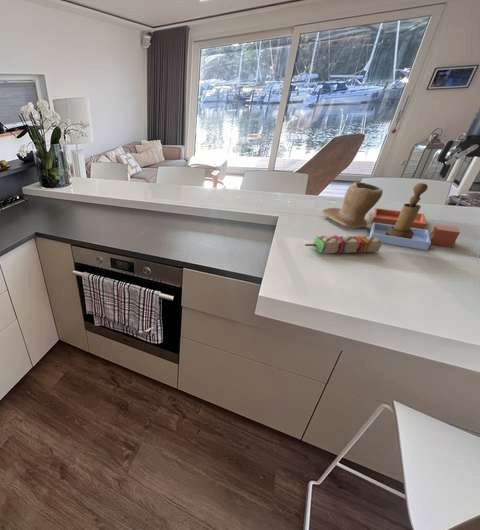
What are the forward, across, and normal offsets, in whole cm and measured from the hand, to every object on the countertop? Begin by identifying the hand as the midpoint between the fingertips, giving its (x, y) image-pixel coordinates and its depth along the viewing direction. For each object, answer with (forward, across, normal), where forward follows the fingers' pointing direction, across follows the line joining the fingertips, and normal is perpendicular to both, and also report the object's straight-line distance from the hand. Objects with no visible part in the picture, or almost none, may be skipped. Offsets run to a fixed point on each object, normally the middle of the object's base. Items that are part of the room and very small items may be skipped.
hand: (463, 178), depth 83 cm
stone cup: (+20, -23, +7) cm, 31 cm away
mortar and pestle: (+20, -8, -2) cm, 22 cm away
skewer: (+20, -23, -21) cm, 37 cm away
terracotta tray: (+20, -8, +15) cm, 26 cm away
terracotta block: (+20, +2, +1) cm, 20 cm away
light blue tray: (+20, -8, -2) cm, 22 cm away
